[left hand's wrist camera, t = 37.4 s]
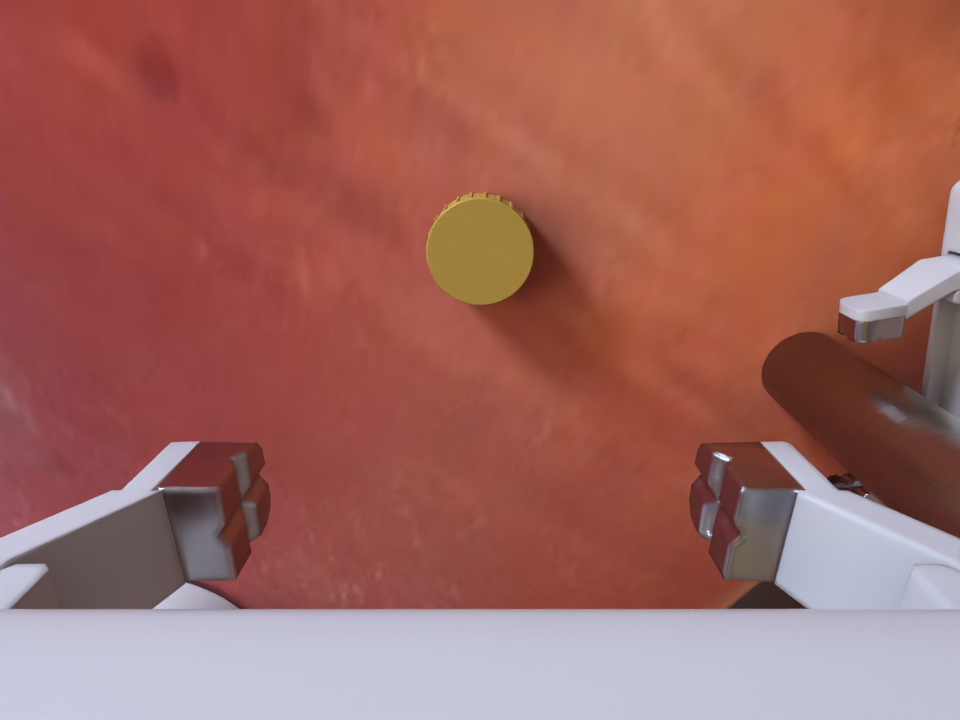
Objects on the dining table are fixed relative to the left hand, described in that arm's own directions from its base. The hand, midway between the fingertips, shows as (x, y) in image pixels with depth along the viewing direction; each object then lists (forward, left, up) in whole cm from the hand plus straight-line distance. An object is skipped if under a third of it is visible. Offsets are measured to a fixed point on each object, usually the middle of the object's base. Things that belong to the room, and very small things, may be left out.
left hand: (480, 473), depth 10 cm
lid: (0, 0, -17) cm, 17 cm away
